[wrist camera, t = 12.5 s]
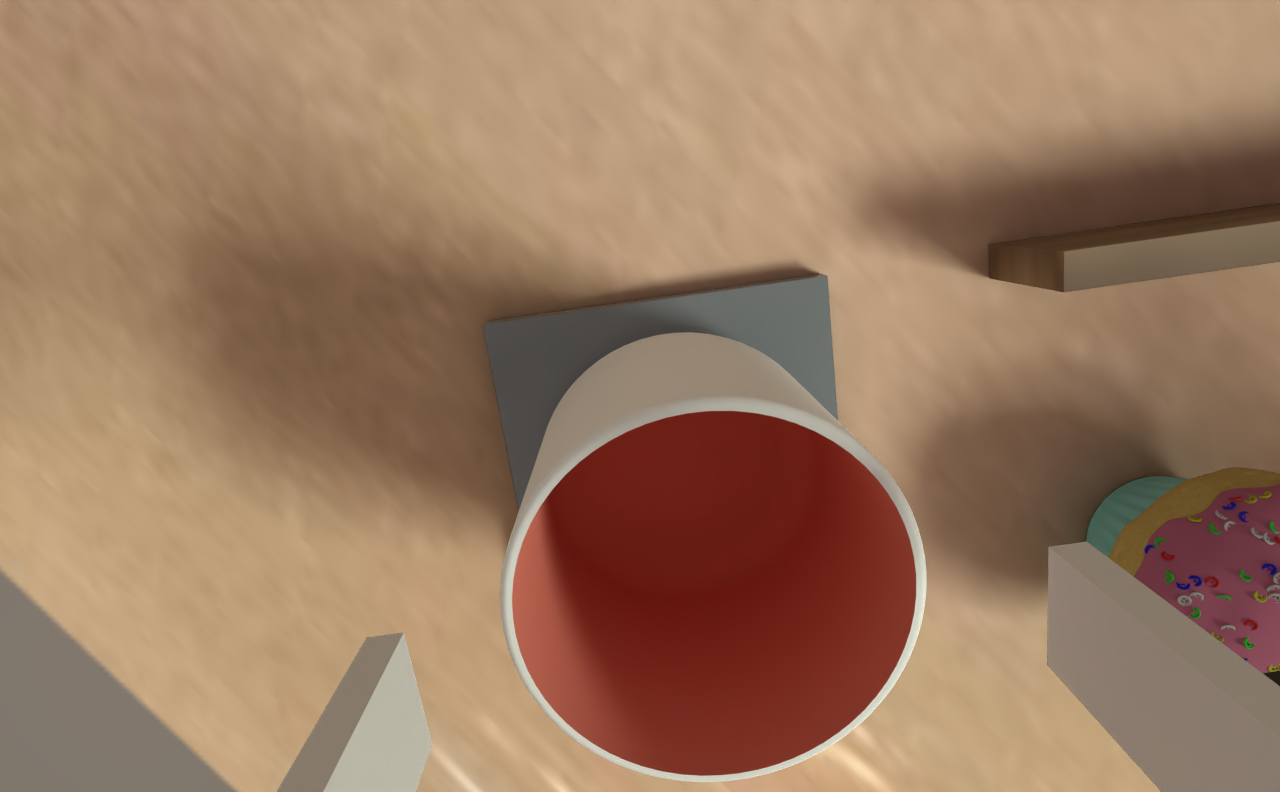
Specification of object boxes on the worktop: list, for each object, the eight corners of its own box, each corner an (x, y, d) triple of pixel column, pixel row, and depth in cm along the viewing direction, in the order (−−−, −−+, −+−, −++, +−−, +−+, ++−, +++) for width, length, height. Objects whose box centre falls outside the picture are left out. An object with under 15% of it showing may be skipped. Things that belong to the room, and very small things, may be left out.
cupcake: (1171, 386, 27) (1580, 517, 16) (1294, 531, 29) (1746, 746, 17) (993, 538, 29) (1249, 763, 17) (1120, 669, 30) (1432, 954, 19)
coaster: (486, 321, 26) (482, 324, 25) (821, 273, 26) (827, 275, 25) (543, 618, 29) (541, 630, 28) (843, 577, 29) (849, 587, 28)
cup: (486, 434, 26) (408, 565, 17) (715, 268, 25) (776, 305, 15) (649, 632, 28) (665, 851, 19) (868, 488, 27) (1006, 643, 17)
